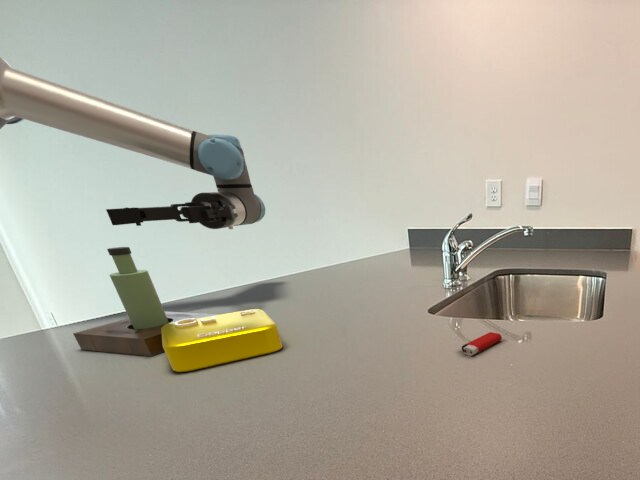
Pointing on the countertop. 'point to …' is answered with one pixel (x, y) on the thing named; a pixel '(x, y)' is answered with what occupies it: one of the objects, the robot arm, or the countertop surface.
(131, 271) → the bottle
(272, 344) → the element tile
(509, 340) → the countertop surface
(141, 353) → the hole board
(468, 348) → the lighter
